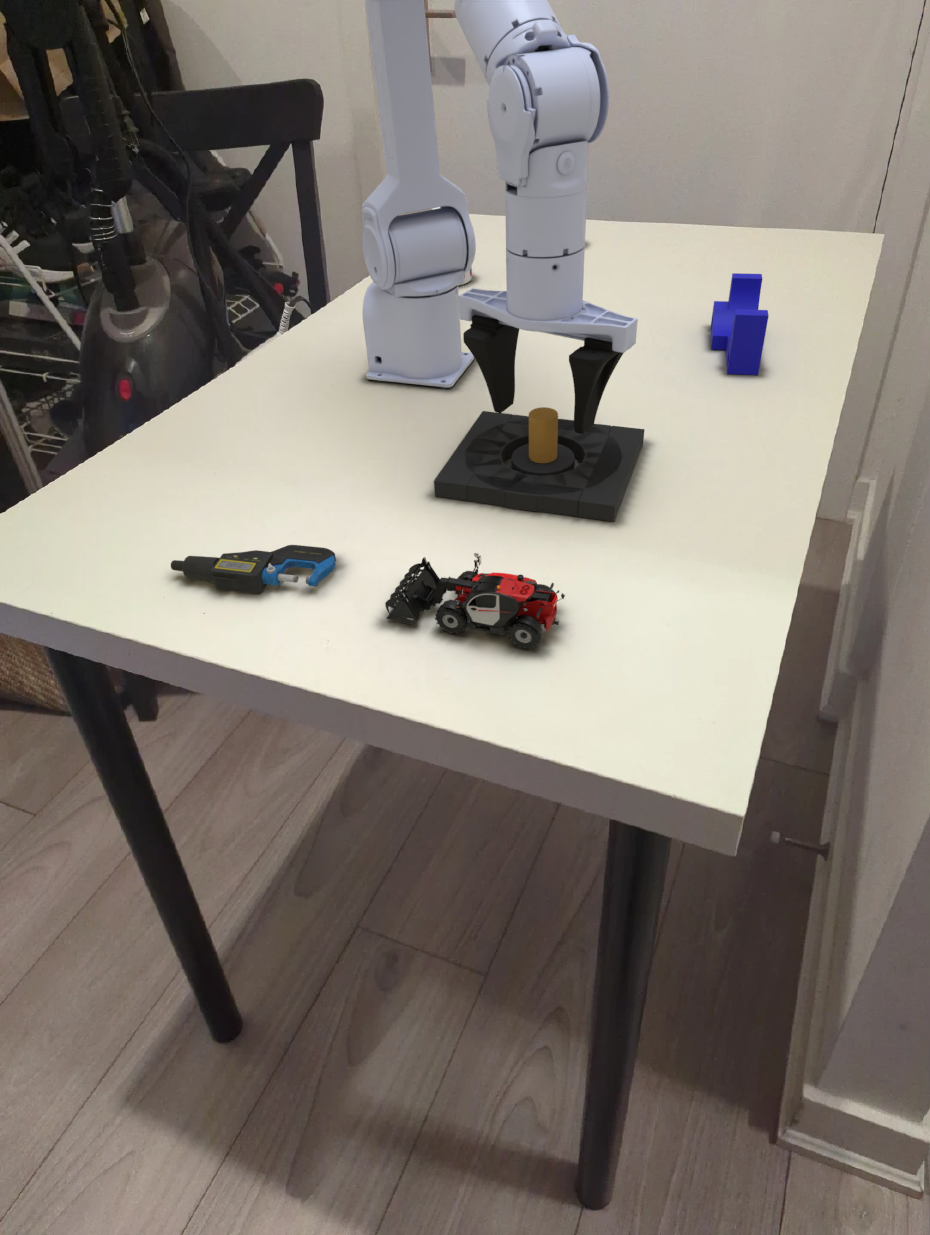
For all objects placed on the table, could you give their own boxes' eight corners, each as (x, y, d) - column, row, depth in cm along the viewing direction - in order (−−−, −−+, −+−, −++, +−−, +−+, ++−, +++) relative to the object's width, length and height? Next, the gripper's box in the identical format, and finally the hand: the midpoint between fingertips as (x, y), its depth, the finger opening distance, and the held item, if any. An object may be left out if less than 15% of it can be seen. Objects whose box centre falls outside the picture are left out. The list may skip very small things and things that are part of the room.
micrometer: (339, 543, 64) (315, 583, 61) (342, 564, 66) (319, 604, 62) (192, 527, 67) (161, 565, 63) (197, 547, 68) (167, 585, 64)
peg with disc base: (499, 475, 74) (498, 419, 71) (531, 448, 78) (531, 394, 74) (554, 491, 72) (555, 434, 69) (585, 463, 75) (588, 407, 72)
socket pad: (434, 497, 72) (432, 481, 71) (483, 424, 82) (483, 410, 81) (613, 523, 68) (614, 506, 67) (643, 443, 77) (645, 428, 77)
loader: (385, 622, 60) (378, 567, 57) (412, 583, 63) (406, 529, 60) (554, 658, 56) (555, 601, 53) (573, 615, 59) (575, 559, 56)
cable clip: (710, 328, 97) (717, 273, 93) (752, 329, 96) (761, 273, 92) (711, 373, 88) (720, 314, 84) (758, 375, 87) (768, 315, 83)
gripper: (661, 243, 62) (645, 417, 71) (490, 219, 69) (495, 381, 78) (617, 273, 58) (605, 454, 67) (439, 244, 64) (450, 413, 73)
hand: (543, 417), depth 72 cm, fingers open, 7 cm apart
